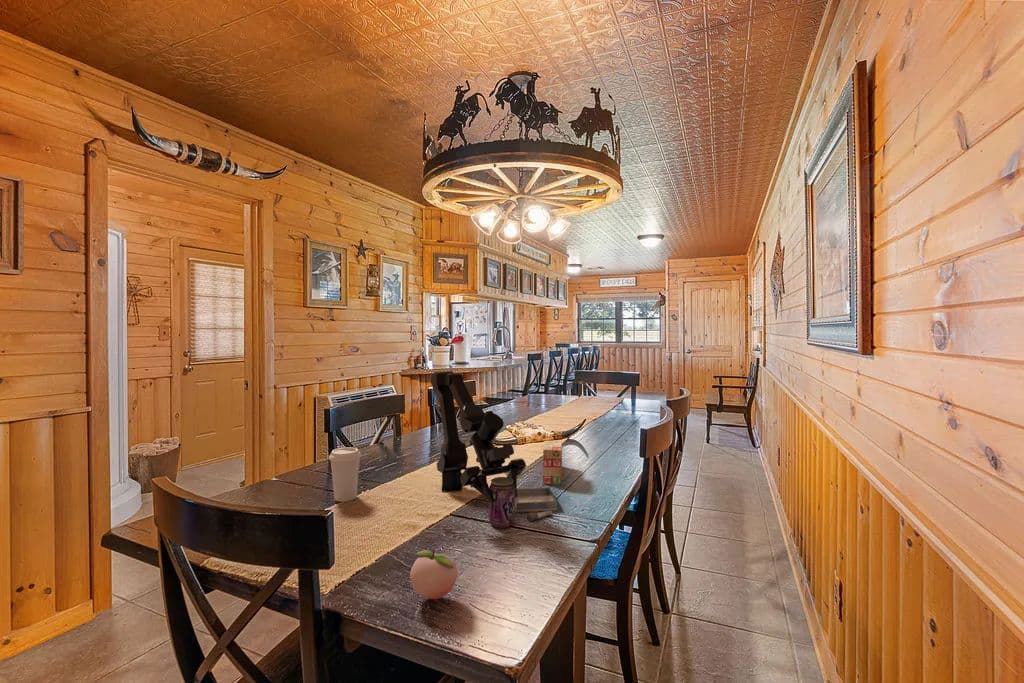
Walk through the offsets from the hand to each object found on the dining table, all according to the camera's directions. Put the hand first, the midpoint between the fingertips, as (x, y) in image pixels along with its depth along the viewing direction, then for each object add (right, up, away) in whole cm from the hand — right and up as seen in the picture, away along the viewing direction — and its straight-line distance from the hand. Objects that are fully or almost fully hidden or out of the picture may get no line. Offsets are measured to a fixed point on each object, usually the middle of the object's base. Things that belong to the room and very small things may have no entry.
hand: (504, 499), depth 127 cm
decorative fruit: (-14, -8, -34) cm, 38 cm away
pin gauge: (+10, -7, +6) cm, 13 cm away
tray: (+9, -7, +17) cm, 20 cm away
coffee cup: (-50, -7, +21) cm, 55 cm away
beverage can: (-1, -7, +1) cm, 7 cm away
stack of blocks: (+17, -6, +44) cm, 48 cm away
